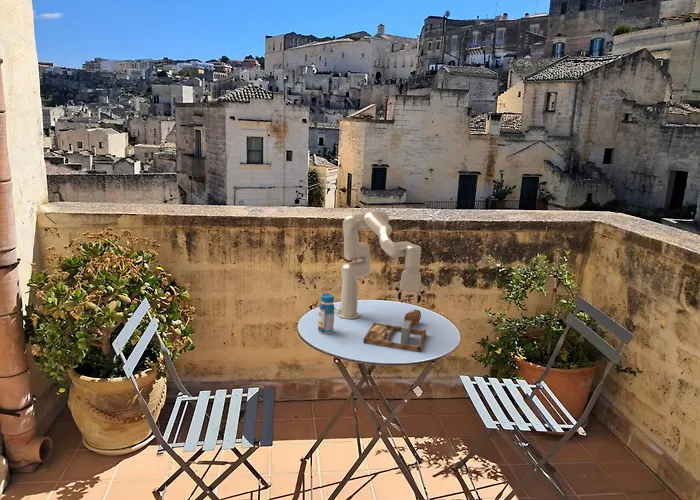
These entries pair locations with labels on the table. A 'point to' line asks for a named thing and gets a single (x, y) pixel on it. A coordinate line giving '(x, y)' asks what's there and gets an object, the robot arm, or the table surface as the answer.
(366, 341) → the rack
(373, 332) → the offcut stack
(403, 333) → the grey rectangular block
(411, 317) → the tin
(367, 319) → the table surface
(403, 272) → the robot arm
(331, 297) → the beverage bottle
